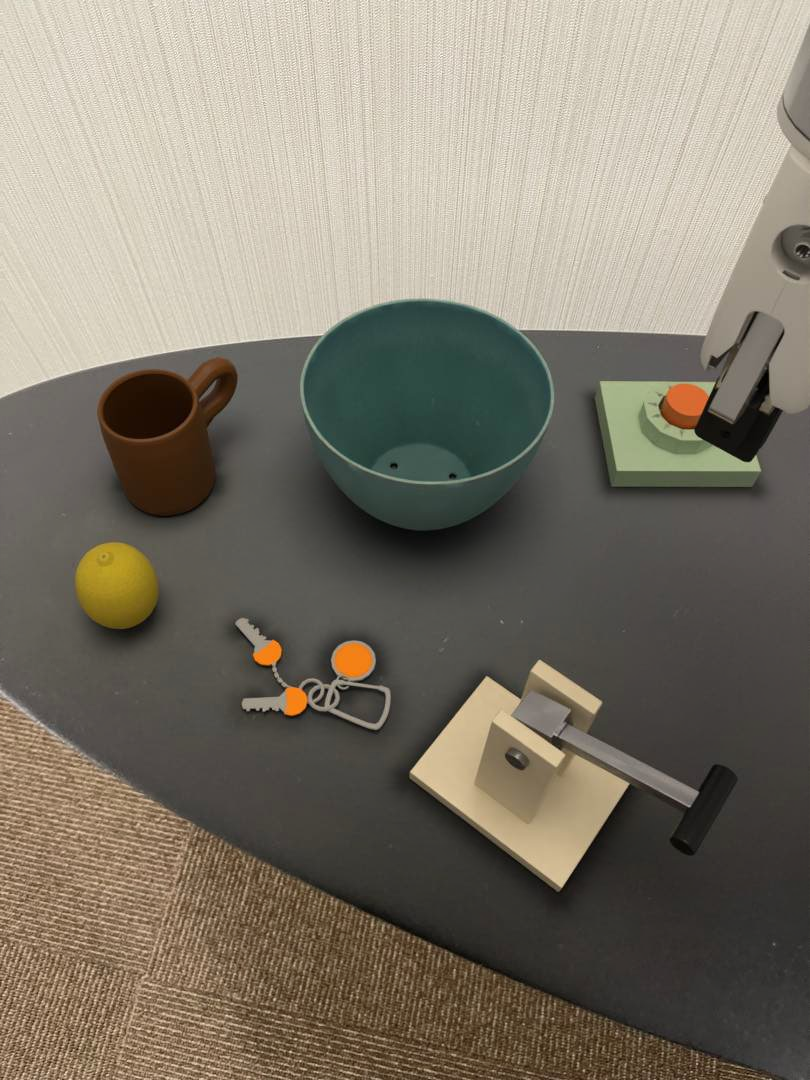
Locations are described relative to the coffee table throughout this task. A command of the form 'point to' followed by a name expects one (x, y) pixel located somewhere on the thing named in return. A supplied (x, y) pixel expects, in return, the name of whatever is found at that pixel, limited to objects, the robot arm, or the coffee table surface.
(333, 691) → the key chain
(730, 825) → the coffee table surface
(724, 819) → the coffee table surface
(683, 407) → the button
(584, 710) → the bracket
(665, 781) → the lever
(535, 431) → the plant pot
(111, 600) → the lemon
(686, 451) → the button block
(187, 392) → the mug
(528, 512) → the coffee table surface
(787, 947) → the coffee table surface
